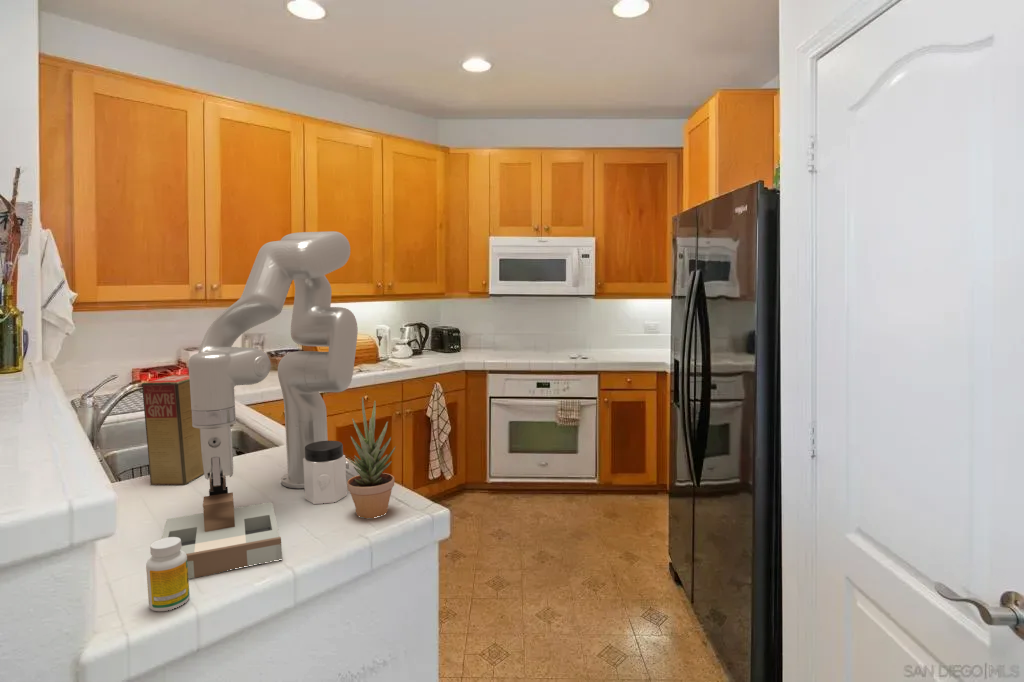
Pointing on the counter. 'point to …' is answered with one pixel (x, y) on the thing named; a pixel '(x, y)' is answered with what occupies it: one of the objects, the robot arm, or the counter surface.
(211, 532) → the board
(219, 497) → the walnut block
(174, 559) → the supplement bottle
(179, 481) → the food packaging
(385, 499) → the potted plant
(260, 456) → the counter surface
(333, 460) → the jar
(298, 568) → the counter surface
